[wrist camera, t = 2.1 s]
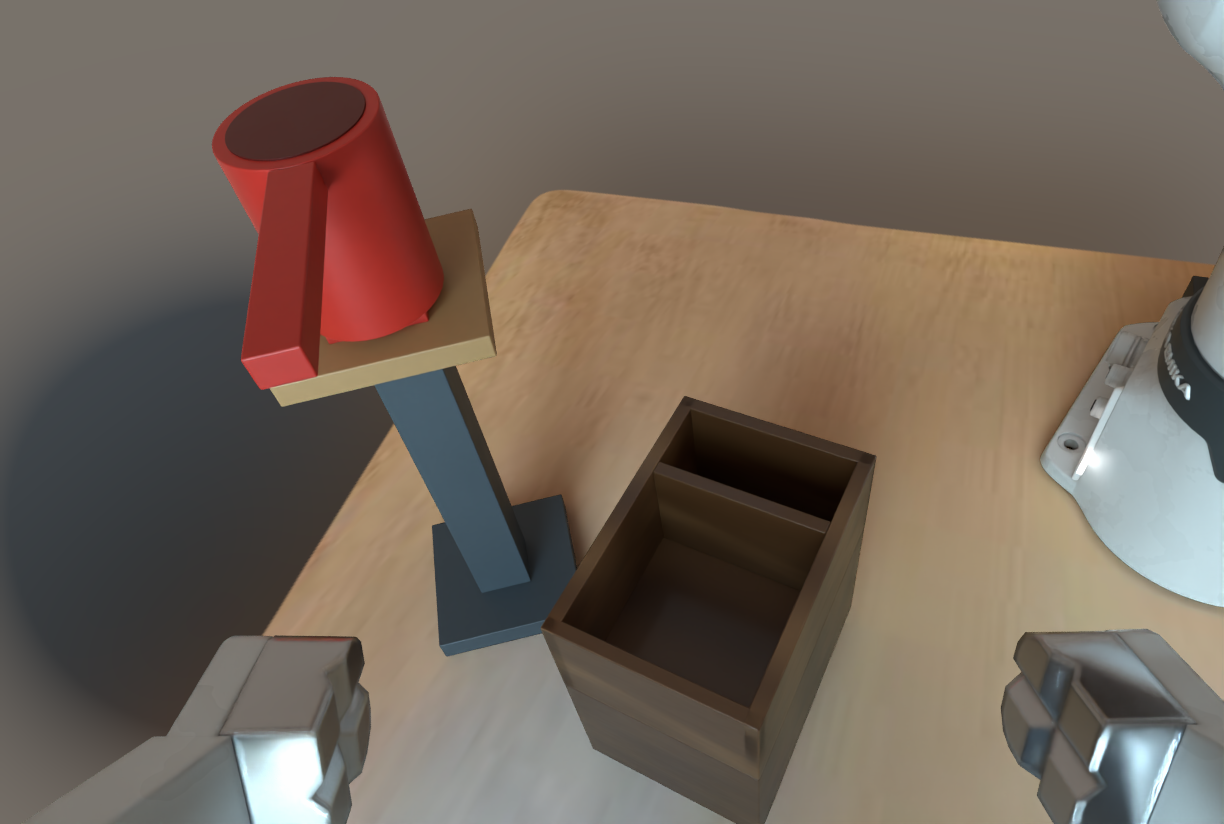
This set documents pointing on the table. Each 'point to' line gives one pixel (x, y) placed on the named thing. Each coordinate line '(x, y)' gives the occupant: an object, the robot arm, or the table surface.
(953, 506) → the table surface
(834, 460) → the caddy
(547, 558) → the stand
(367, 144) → the cup
